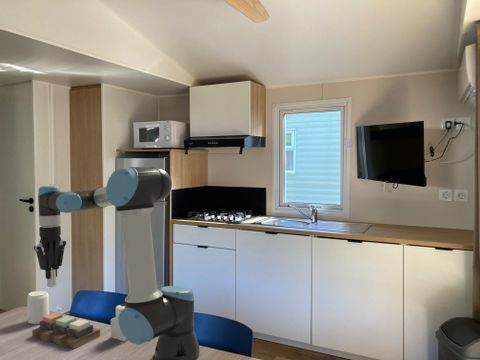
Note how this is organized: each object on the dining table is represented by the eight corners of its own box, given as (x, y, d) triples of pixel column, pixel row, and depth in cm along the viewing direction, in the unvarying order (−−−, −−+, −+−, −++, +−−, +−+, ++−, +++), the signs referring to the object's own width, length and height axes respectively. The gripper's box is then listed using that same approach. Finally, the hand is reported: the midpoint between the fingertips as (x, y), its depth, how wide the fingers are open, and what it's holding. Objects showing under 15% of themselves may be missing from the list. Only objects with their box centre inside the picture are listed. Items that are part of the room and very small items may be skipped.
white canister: (40, 325, 163) (39, 296, 163) (23, 324, 165) (22, 295, 165) (53, 318, 171) (52, 290, 171) (37, 317, 173) (36, 289, 172)
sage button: (76, 324, 154) (75, 317, 154) (64, 329, 150) (64, 322, 149) (67, 322, 156) (66, 315, 156) (55, 326, 152) (55, 320, 152)
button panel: (100, 335, 153) (99, 323, 153) (74, 348, 142) (73, 335, 142) (59, 325, 164) (59, 313, 164) (32, 336, 153) (32, 323, 153)
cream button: (89, 327, 151) (89, 321, 150) (79, 332, 146) (78, 326, 146) (80, 325, 153) (80, 319, 153) (69, 330, 148) (69, 323, 148)
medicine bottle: (124, 330, 158) (124, 300, 157) (138, 334, 154) (137, 303, 153) (110, 337, 152) (109, 306, 151) (124, 341, 148) (123, 309, 147)
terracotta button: (62, 320, 157) (62, 314, 157) (51, 325, 153) (51, 319, 153) (54, 318, 160) (53, 312, 160) (42, 323, 155) (42, 316, 155)
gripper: (58, 222, 163) (60, 280, 164) (27, 227, 151) (29, 289, 152) (71, 224, 159) (72, 282, 160) (40, 229, 147) (42, 292, 148)
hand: (51, 286), depth 156 cm, fingers closed
